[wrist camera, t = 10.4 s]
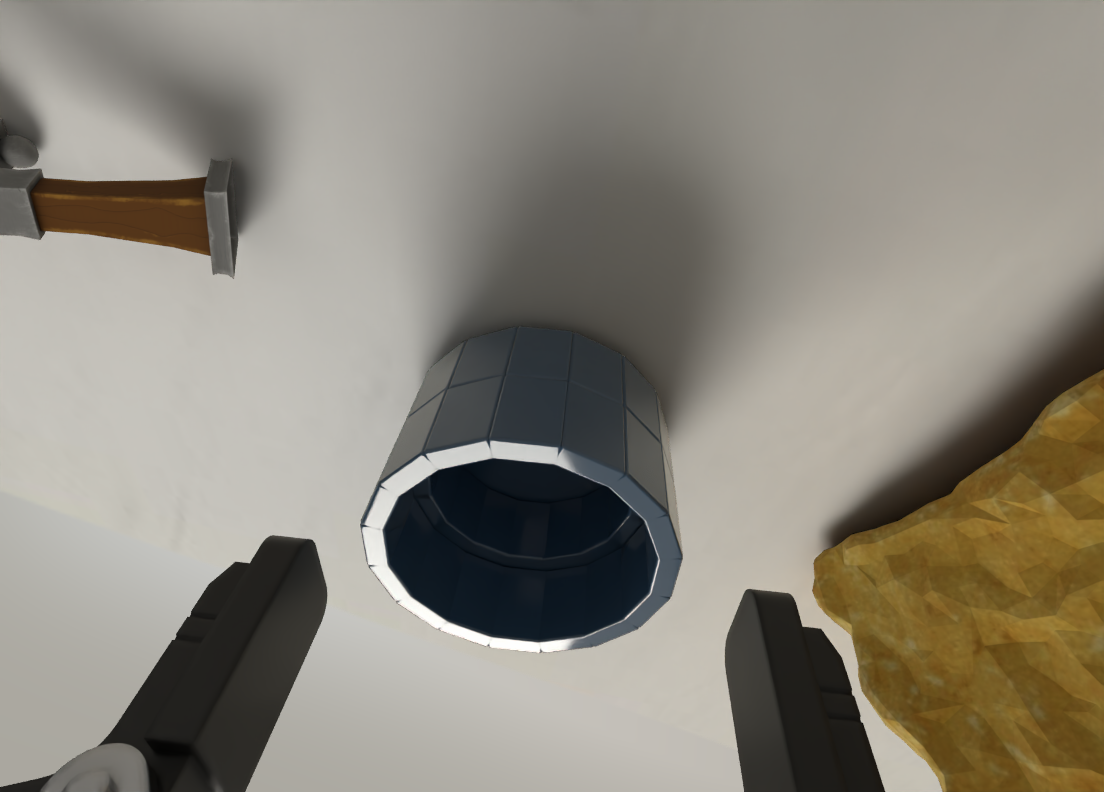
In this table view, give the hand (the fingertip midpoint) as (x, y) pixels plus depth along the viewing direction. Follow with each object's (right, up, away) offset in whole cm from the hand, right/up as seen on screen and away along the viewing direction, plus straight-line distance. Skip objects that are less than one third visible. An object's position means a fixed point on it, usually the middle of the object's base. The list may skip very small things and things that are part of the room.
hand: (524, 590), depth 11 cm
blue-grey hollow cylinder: (0, +3, +4) cm, 5 cm away
